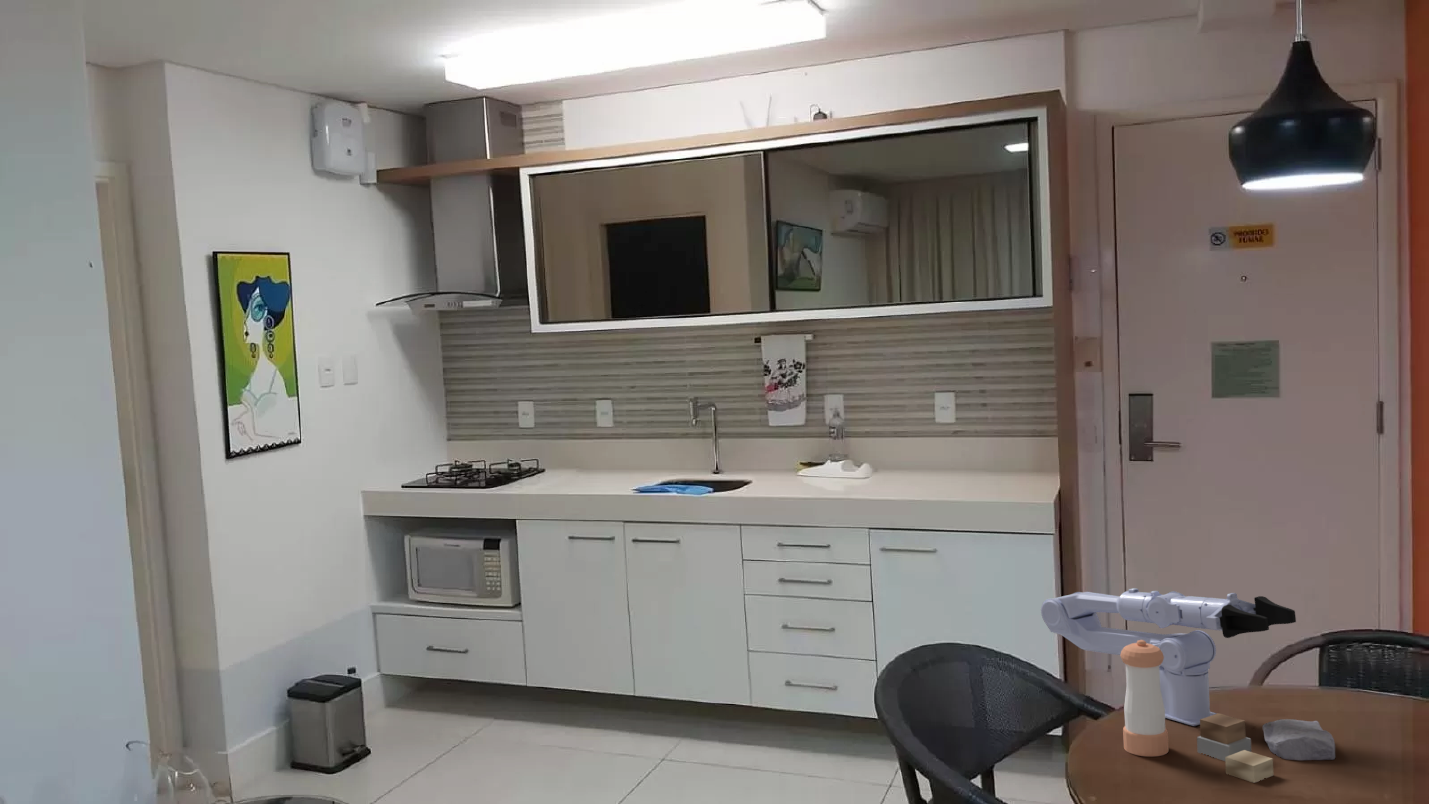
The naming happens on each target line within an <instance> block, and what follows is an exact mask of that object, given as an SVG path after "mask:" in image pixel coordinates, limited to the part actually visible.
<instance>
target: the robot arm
mask: <svg viewBox="0 0 1429 804" xmlns="http://www.w3.org/2000/svg"><path fill="white" fill-rule="evenodd" d="M1237 594H1238V593H1236V592H1230V593H1227V595H1226V598H1220V597H1219V598H1217V597H1207V596H1205V597H1204V596H1195V595H1194V596H1192V595H1188V596H1187V595H1184V593H1181V592H1178V591H1175V590H1173V591H1170V592H1168V593H1166V594H1162V593H1160V591H1159V590H1152V591H1150V592H1144V591H1143V592H1142V591H1140V590H1139V588H1136V587H1133V588H1128V590H1126V591H1124V592H1122V593H1121V594H1120V596H1119V595H1112V594H1107V593H1100V592H1099V593H1098V592H1091V591H1083V592H1081V591H1076V592H1073V593H1071V594H1068V595H1063V596H1058V597H1054V598H1053V597H1051V598H1046V599H1045V600H1044V601H1043V602H1042V604H1041V607H1040V611H1041V612H1040V613H1041V614H1040V615H1041V617H1042V621H1044V623H1045V624H1046V626H1047V629H1048V630H1049V632H1050V633H1052V634H1056V635H1060V636H1062V637H1064V638H1065V639H1066V640H1068V641H1069V642H1071V643H1072V644H1073V645H1075V646H1076V647H1077V648H1079V649H1081V650H1084V651H1089V652H1094V653H1101V654H1108V655H1109V654H1110V655H1116V656H1120V655H1121V651H1122V649H1123V648H1124V647H1125V646H1127V645H1130V644H1132V643H1137V641H1138V640H1144V641H1146V643H1148V644H1152V645H1154V646H1157V647H1158V648H1160V650H1161V651H1162V653H1163V656H1164V659H1163V662H1162V664H1161V665H1159V671H1160V690H1161V694H1162V699H1163V704H1164V709H1165V719H1168V720H1172V721H1176V722H1178V723H1182V724H1185V725H1189V726H1192V727H1196V726H1200V719H1203V718H1206V717H1209V716H1212V715H1215V714H1218V713H1216V712H1213V711H1211V710H1210V709H1211V708H1210V707H1211V706H1210V684H1209V683H1210V682H1209V679H1210V678H1209V669H1210V668H1211V663H1212V662H1213V661H1214V659H1215V657H1216V656H1217V655H1216V654H1217V647H1216V646H1217V645H1216V644H1215V641H1214V640H1213V637H1211V635H1210V634H1208V633H1207V632H1205V631H1203V630H1210V631H1211V630H1212V631H1221V632H1222V635H1223V637H1224V638H1225V639H1230V638H1233V637H1235V636H1238V635H1241V634H1247V633H1259V632H1265V631H1268V630H1270V626H1273V625H1275V626H1276V625H1289V624H1293V623H1297V617H1296V611H1295V609H1292V608H1289V607H1286V606H1284V605H1283V606H1282V605H1280V604H1277V603H1275V602H1273V601H1272V600H1270V598H1267V597H1266V596H1261V595H1259V596H1255V597H1254V598H1253V599H1254V603H1252V602H1249V601H1245V600H1242V599H1239V597H1238V595H1237ZM1097 613H1104V614H1105V613H1108V614H1109V613H1110V614H1119V616H1120V617H1121V618H1122V619H1123V620H1126V621H1131V622H1140V623H1148V624H1155V625H1157V626H1158V627H1159V629H1164V628H1167V627H1169V626H1172V625H1174V626H1182V627H1186V628H1193V629H1196V630H1192V631H1190V632H1188V633H1184V632H1183V633H1181V632H1178V633H1166V634H1164V633H1163V634H1162V633H1156V632H1155V633H1154V632H1146V631H1137V630H1129V629H1123V628H1122V629H1121V628H1114V627H1113V628H1112V627H1104V626H1102V623H1101V621H1100V618H1099V616H1098V614H1097ZM1199 629H1203V630H1199Z"/></svg>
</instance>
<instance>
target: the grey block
mask: <svg viewBox="0 0 1429 804" xmlns="http://www.w3.org/2000/svg"><path fill="white" fill-rule="evenodd" d="M1196 744H1197V745H1196V747H1197V748H1196V749H1197V754H1201V753H1203V754H1202V755H1204V754H1206V755H1205V756H1207V755H1209V756H1208V757H1210V756H1211V757H1210V758H1213V757H1214V759H1216V758H1217V759H1216V760H1220V761H1223V762H1225V757H1227V756H1229V755H1232V754H1235V753H1237V752H1240V751H1243V750H1246V751H1249V752H1252V739H1251V738H1250V737H1247V736H1246V738H1244V739H1241V740H1238V741H1235V742H1233V743H1230V744H1223V743H1220V742H1217V741H1213V740H1210V739H1207V738H1203V737H1201V735H1199V736H1196Z"/></svg>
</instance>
